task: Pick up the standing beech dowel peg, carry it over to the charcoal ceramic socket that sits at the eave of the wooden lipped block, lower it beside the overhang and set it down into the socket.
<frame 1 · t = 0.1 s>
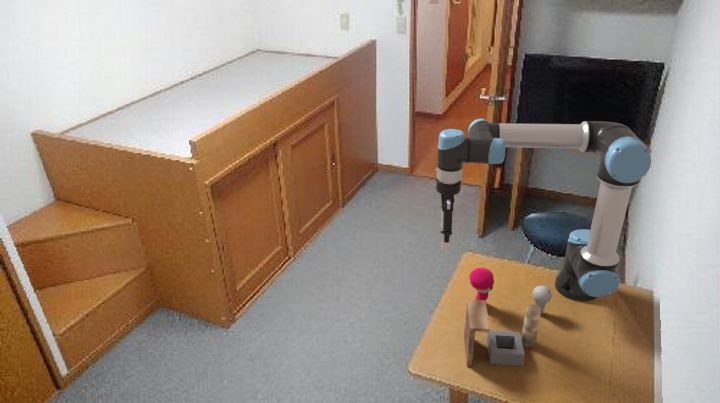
hand: (445, 237, 177), 28 cm above the table, fingers open, 13 cm apart
lightbulb: (538, 313, 186), on the table
wooden lipped block: (471, 351, 171), on the table
toy: (478, 306, 190), on the table
socket: (504, 353, 170), on the table
peg: (527, 343, 173), on the table
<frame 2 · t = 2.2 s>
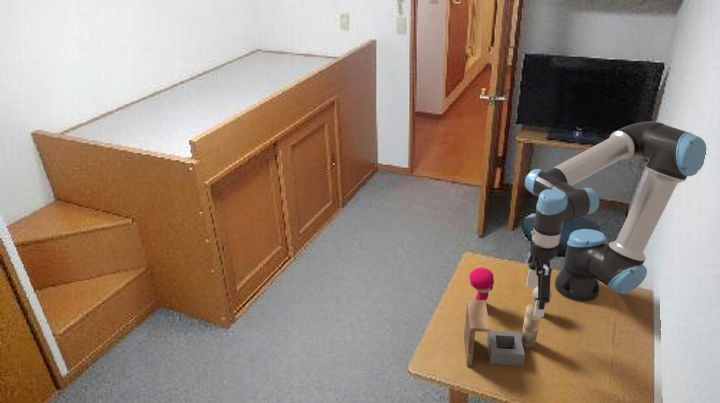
hand: (534, 300, 165), 17 cm above the table, fingers open, 13 cm apart
nothing on the table moved.
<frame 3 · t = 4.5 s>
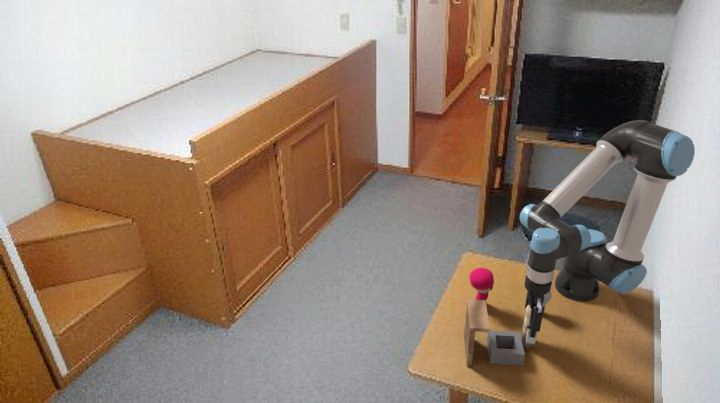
hand: (529, 336, 172), 3 cm above the table, fingers closed on peg, 4 cm apart
peg: (527, 343, 173), on the table, touching gripper
everything else where it was.
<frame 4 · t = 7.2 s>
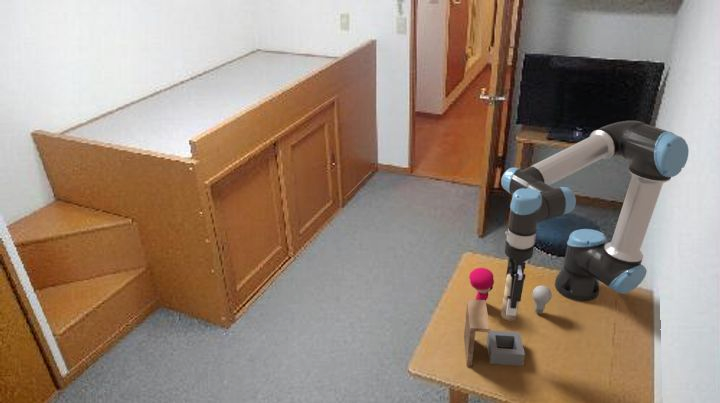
hand: (509, 308, 161), 18 cm above the table, fingers closed on peg, 4 cm apart
peg: (508, 315, 163), point 15 cm above the table, touching gripper
everything else where it was.
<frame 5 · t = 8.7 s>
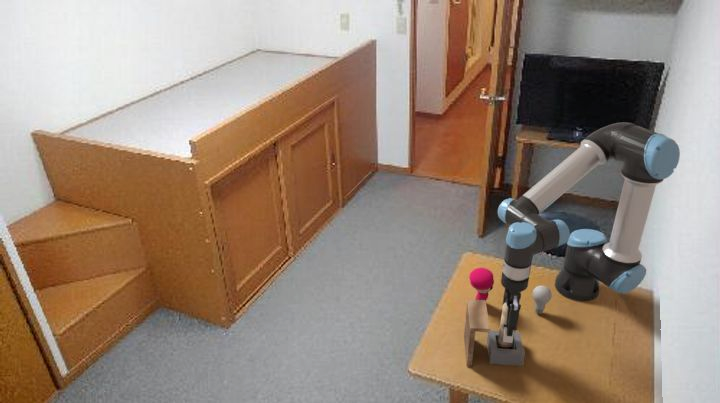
hand: (506, 335, 166), 7 cm above the table, fingers closed on peg, 4 cm apart
peg: (505, 342, 168), point 5 cm above the table, touching gripper
everything else where it was.
when the fingers open (5 cm above the table, at t = 9.8 s): peg drops 2 cm, resting in socket.
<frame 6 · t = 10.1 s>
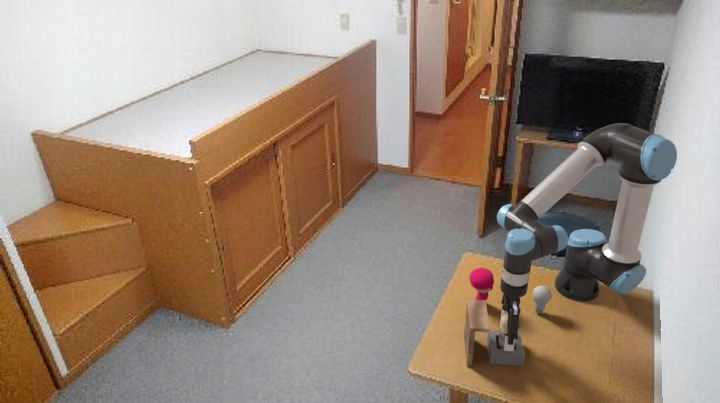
hand: (506, 338, 167), 6 cm above the table, fingers open, 9 cm apart
peg: (504, 353, 170), resting in socket
everything else where it was.
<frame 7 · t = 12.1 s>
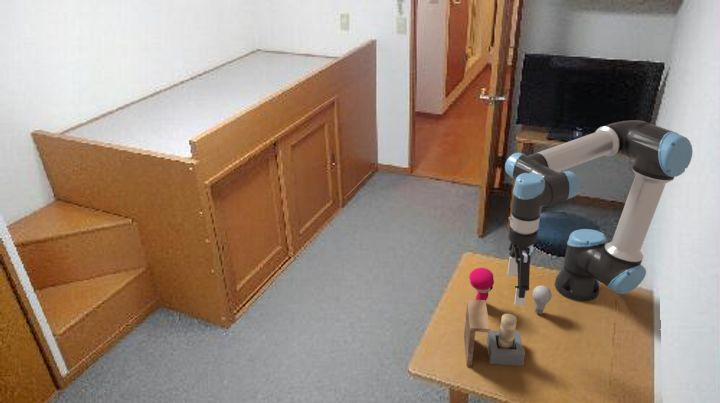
hand: (515, 289, 160), 24 cm above the table, fingers open, 13 cm apart
nothing on the table moved.
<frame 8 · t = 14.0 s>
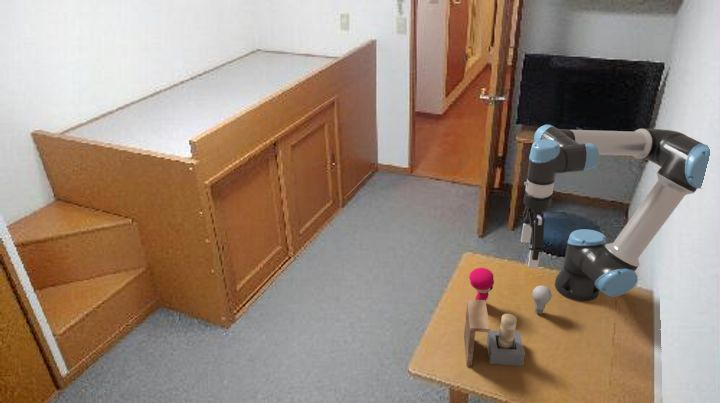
hand: (528, 254, 167), 29 cm above the table, fingers open, 13 cm apart
nothing on the table moved.
at the end: peg 0.1 cm from the socket (horizontally); peg resting in socket; the gripper is holding nothing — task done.
